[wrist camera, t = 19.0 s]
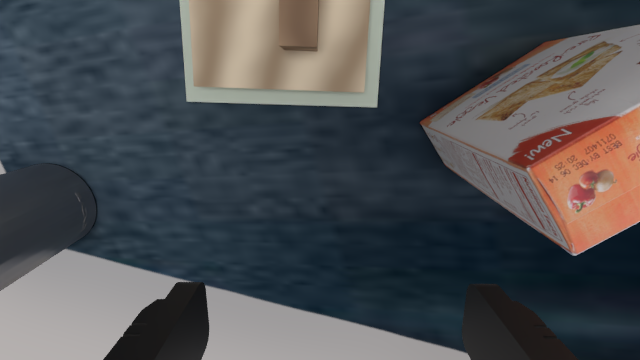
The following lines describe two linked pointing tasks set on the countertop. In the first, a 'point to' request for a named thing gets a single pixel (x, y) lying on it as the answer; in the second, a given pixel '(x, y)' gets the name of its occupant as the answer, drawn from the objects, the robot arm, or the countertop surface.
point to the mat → (291, 96)
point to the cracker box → (554, 137)
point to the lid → (280, 44)
